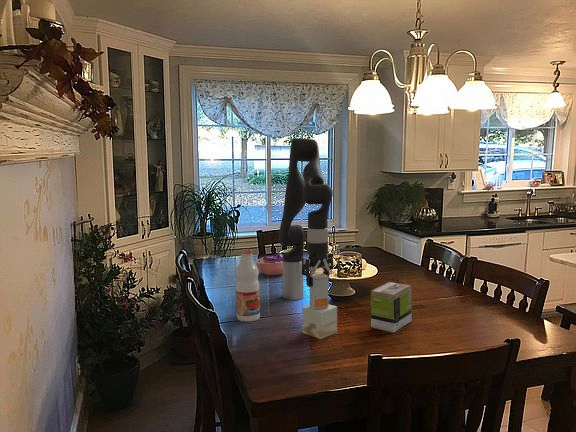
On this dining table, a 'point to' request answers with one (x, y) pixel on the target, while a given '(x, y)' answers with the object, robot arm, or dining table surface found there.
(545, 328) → the dining table surface
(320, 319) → the upper block
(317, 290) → the skincare box
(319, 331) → the lower block
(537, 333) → the dining table surface
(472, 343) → the dining table surface
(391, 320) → the tea box
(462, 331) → the dining table surface
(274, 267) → the cell model
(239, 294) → the fruit juice
